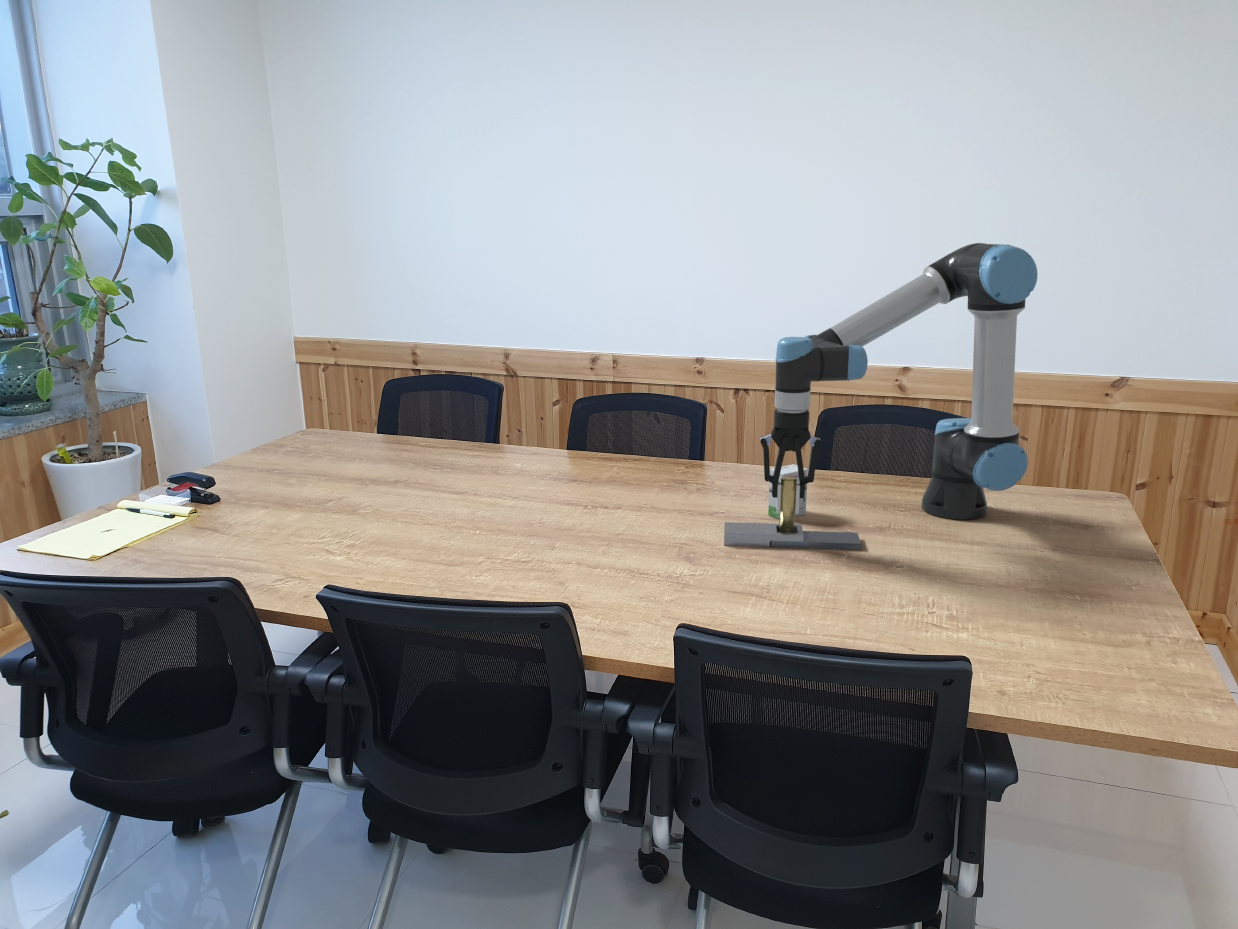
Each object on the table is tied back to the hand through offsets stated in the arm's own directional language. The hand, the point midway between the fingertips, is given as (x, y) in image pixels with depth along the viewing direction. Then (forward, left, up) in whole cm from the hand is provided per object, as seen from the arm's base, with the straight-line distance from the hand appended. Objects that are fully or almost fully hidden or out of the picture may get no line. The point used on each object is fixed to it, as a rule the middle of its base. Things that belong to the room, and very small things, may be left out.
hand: (787, 511), depth 204 cm
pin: (0, 0, -4) cm, 4 cm away
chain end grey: (+5, 0, -7) cm, 9 cm away
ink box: (-1, -19, -8) cm, 20 cm away
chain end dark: (-6, 0, -7) cm, 10 cm away
